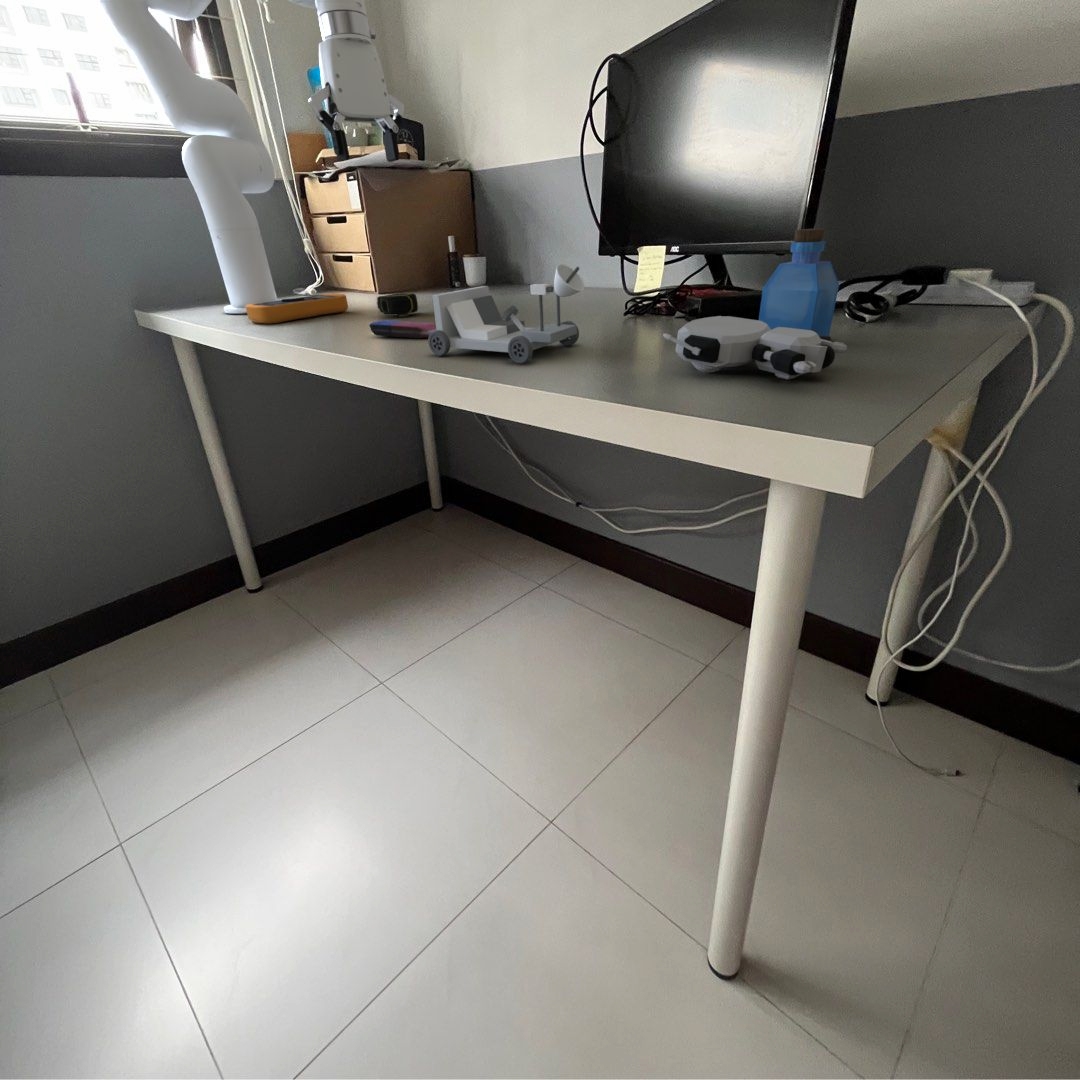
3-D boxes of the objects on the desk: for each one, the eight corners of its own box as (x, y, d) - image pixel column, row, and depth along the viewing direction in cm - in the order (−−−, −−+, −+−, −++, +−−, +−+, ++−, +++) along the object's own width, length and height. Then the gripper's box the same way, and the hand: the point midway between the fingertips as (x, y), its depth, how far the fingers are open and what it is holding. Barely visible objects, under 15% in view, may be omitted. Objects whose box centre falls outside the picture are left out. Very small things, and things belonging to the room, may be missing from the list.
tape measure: (414, 312, 110) (411, 291, 108) (423, 316, 104) (419, 294, 103) (379, 315, 108) (375, 294, 106) (385, 320, 102) (381, 297, 100)
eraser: (445, 334, 86) (444, 322, 85) (430, 339, 82) (429, 326, 82) (384, 331, 90) (382, 319, 89) (367, 335, 86) (365, 323, 86)
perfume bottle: (755, 343, 69) (770, 231, 63) (778, 335, 73) (794, 228, 67) (806, 349, 65) (828, 229, 59) (828, 340, 69) (850, 227, 63)
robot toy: (845, 374, 57) (707, 350, 66) (858, 328, 55) (714, 308, 63) (803, 404, 50) (653, 372, 58) (817, 351, 47) (658, 325, 55)
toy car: (597, 260, 67) (545, 270, 59) (597, 346, 72) (549, 366, 64) (478, 262, 76) (417, 270, 68) (485, 338, 81) (429, 355, 72)
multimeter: (245, 322, 108) (239, 303, 106) (328, 309, 120) (324, 292, 118) (267, 325, 103) (262, 305, 101) (352, 311, 115) (348, 293, 113)
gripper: (381, 46, 99) (400, 163, 107) (283, 32, 89) (313, 163, 97) (404, 34, 94) (422, 158, 102) (304, 18, 84) (333, 157, 92)
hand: (369, 160), depth 100 cm, fingers open, 9 cm apart
